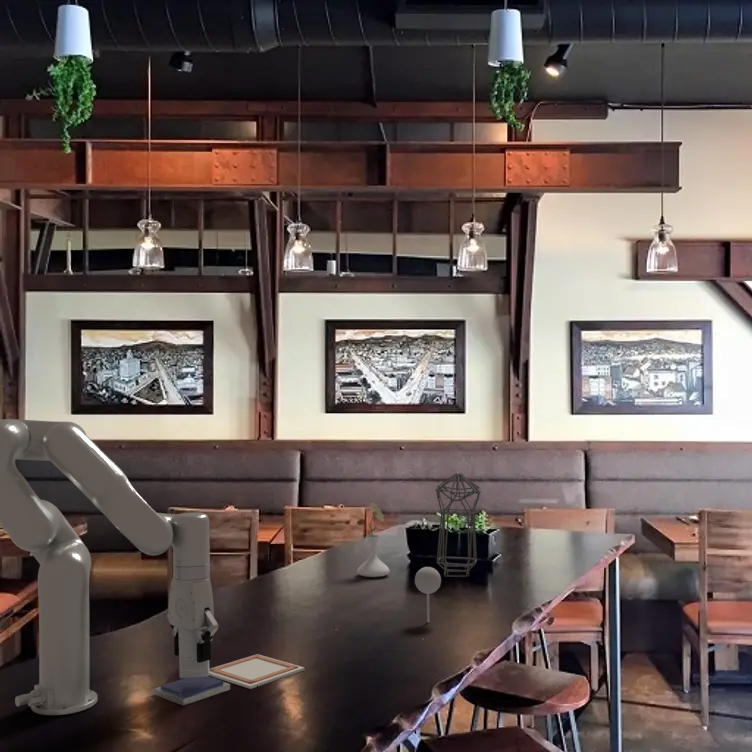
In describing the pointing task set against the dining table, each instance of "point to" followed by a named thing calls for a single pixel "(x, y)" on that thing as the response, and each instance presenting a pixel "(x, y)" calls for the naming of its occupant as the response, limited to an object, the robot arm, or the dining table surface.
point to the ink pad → (191, 689)
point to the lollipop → (427, 583)
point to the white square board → (254, 671)
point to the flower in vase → (373, 552)
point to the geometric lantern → (475, 490)
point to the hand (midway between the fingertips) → (192, 656)
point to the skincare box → (190, 654)
